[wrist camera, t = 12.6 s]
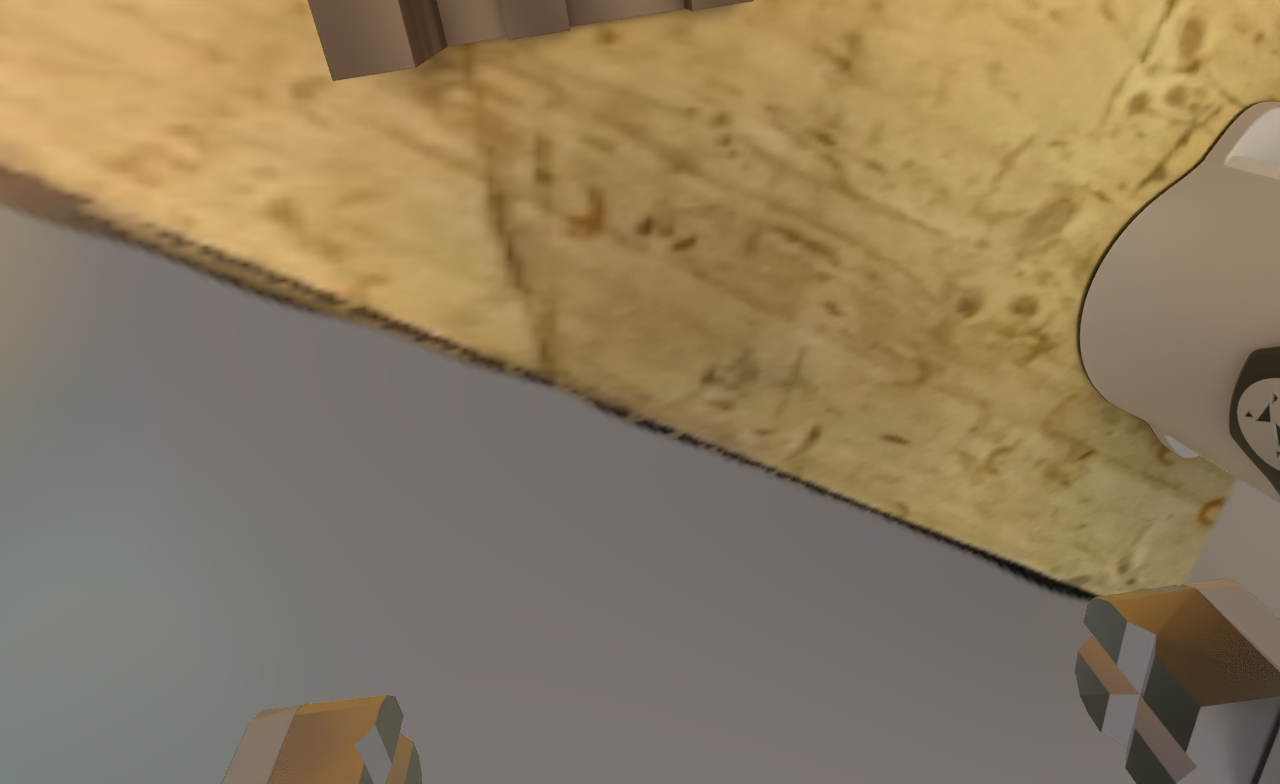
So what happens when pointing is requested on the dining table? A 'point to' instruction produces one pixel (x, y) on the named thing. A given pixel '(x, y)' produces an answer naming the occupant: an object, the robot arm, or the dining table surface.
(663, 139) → the dining table surface
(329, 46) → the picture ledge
